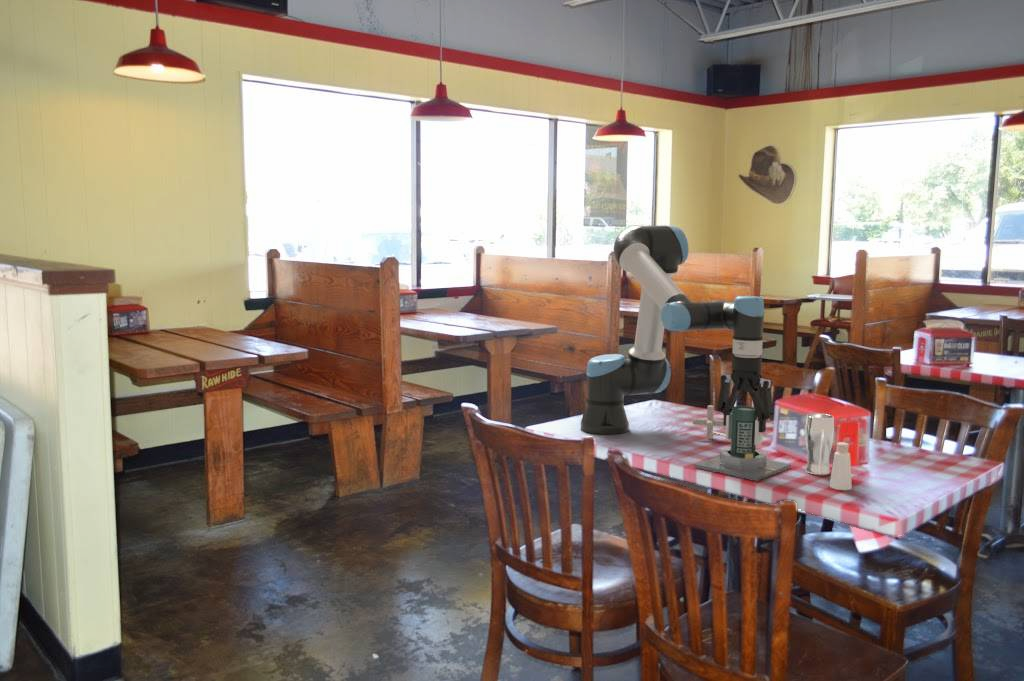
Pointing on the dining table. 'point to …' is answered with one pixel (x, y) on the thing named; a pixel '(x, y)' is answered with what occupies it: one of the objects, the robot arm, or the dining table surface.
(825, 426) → the beer glass
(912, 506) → the dining table surface
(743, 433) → the can
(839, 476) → the pepper shaker
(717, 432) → the butter knife
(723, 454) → the collar
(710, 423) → the pipe connector
